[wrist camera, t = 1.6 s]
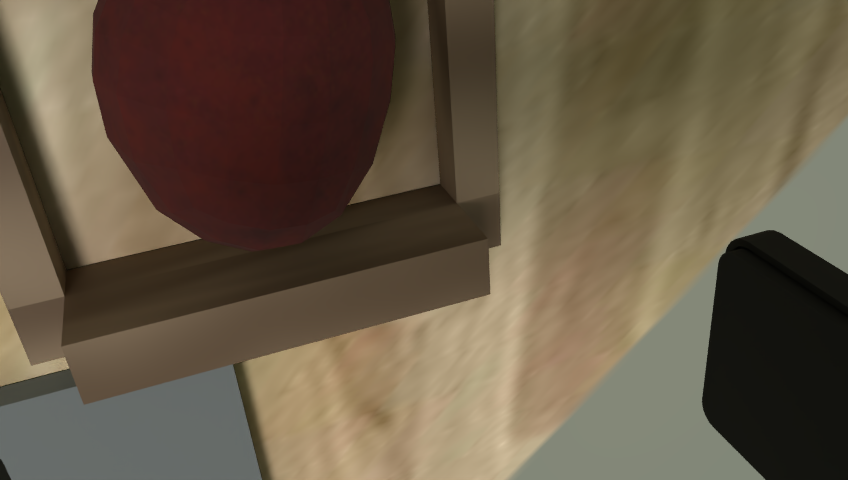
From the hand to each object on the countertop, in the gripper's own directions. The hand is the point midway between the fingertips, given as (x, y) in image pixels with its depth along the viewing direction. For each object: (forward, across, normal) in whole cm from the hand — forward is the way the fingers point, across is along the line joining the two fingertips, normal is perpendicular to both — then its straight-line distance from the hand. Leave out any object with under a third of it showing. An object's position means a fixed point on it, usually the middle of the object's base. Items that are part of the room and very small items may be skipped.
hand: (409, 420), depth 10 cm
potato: (+16, 0, -1) cm, 16 cm away
